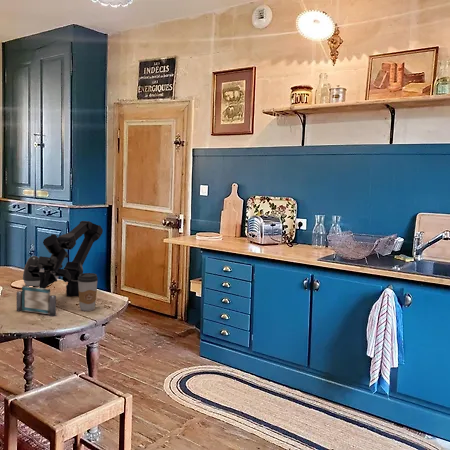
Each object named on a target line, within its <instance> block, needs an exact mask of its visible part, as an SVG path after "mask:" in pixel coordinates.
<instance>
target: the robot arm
mask: <svg viewBox="0 0 450 450" xmlns="http://www.w3.org/2000/svg"><path fill="white" fill-rule="evenodd" d="M103 230H104V229H103V227H102V225H100V224H96V223H93V221H92V222H91V221H90V220H89V221H88V220H82V221H79V224H77V225H76V226H75V227H74V228H72V229H71V230H70V231H69V232H67V233H64V234H63V233H62V234H60V235H58V236H57V235H56V234H55V233H51V235H49V236H47V237H45V238H44V239H43V241H42V245H43V246H44V247H45V249H46V250H47V251H48V253H49V254H51V255H50V256H39V257H38V258H39V260H38V264H41V265H42V266H41V267H42V268H43V269H39V267H38V266H29V267H28V268H27V271H28V272H29V274H30V275H31V276H32V277H34V278H39V277H40V286H38V288H45V289H47V287H49V286H50V285H52V284H53V283H55V282H58V278H59V277H62V281H63V282H65V283H67V284H66V287H65V290H66V291H65V292H66V293H65V294H66V297H79V286H78V277H79V275H80V274H83V273H84V268H83V265H84V264H85V261H86V259H87V257H88V255H89V253H90V252H91V251H90V250H91V248H92V247H93V244H94V243H95V242H96V241H98V240H99V239H100V238H101V236H102V235H103ZM82 236H83V237H84V238H83V240H82V241H81V243H80V246H79V248H78V250H77V252H76V254H75V256H74V257H73V259H72V261H67V262H66V264H65V266H64V267H63V262H64V260H65V259H68V258H69V254H68V251H66V250H69V251H70V250H73V248H74V247H75V246H76V245H77V240H78V239H80V238H81V237H82Z"/></svg>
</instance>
